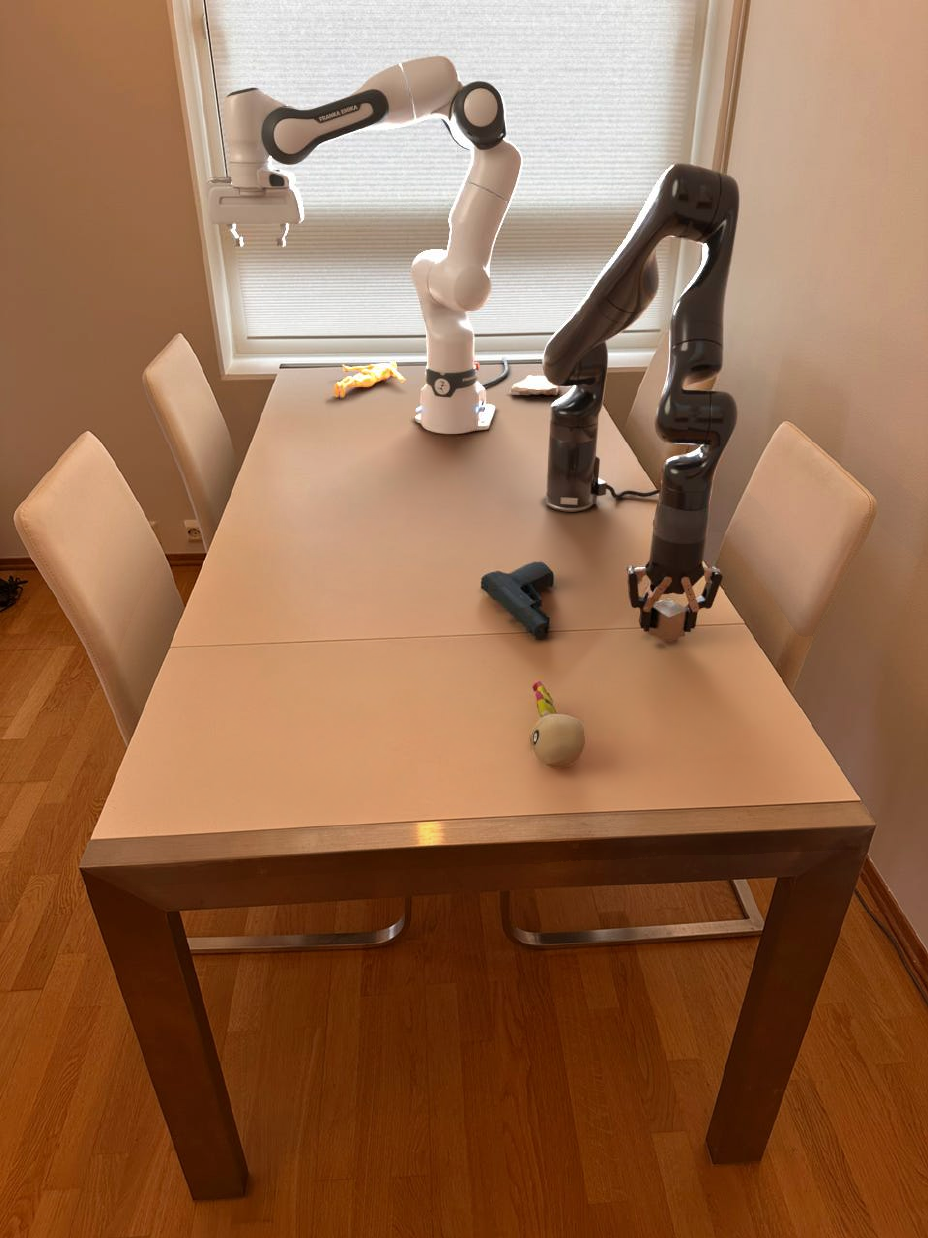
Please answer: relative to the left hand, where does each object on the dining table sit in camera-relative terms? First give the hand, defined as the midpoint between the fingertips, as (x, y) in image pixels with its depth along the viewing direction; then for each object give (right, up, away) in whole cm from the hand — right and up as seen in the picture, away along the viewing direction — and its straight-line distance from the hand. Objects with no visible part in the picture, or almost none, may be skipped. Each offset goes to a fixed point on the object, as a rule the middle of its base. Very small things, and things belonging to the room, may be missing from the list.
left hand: (260, 245), depth 197 cm
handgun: (+56, -81, -53) cm, 112 cm away
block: (+76, -85, -61) cm, 129 cm away
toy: (+57, -98, -81) cm, 139 cm away
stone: (+64, -22, +41) cm, 79 cm away
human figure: (+19, -19, +46) cm, 53 cm away
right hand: (+76, -84, -62) cm, 129 cm away
